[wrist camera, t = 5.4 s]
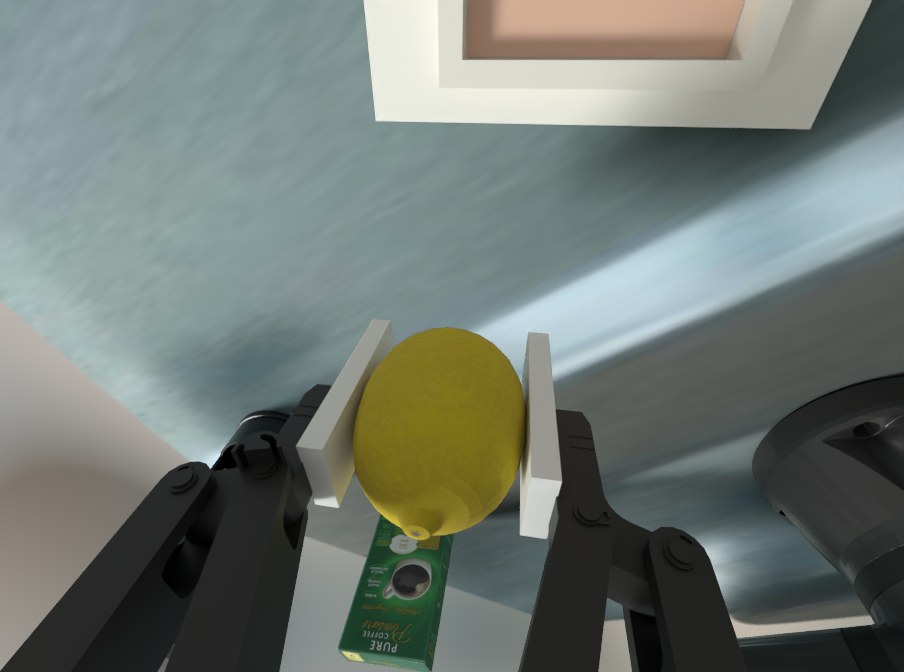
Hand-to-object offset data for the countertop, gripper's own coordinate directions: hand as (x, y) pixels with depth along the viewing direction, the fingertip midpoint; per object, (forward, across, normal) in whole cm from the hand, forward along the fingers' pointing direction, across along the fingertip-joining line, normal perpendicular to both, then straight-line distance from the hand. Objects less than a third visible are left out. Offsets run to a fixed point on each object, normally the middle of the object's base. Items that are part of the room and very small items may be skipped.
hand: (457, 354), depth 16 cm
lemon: (+1, 0, 0) cm, 1 cm away
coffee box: (+11, +6, +30) cm, 33 cm away
